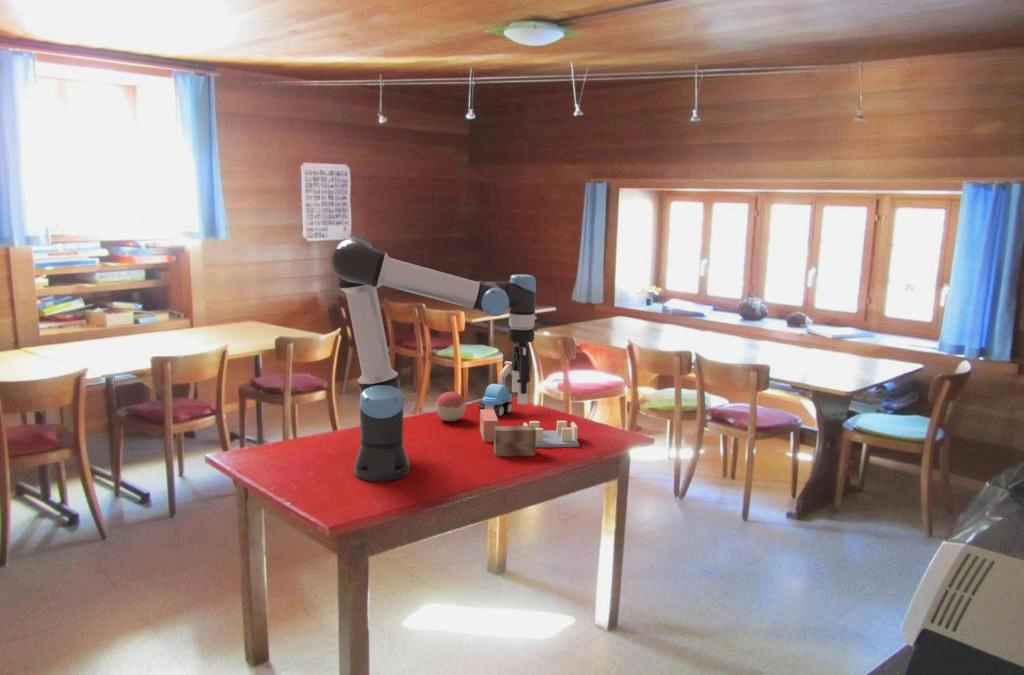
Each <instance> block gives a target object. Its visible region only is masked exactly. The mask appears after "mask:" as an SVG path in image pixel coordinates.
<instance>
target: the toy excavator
mask: <svg viewBox="0 0 1024 675" xmlns="http://www.w3.org/2000/svg"><path fill="white" fill-rule="evenodd" d="M513 371H514V370H513V369H512V361H507V360H506V361H504V367H503V368H502V370H500V372H499V375H498V383H491V384H489V385H488V386H487V387H486V389H485V394H484V396H483V398H482V400H481V402H480V403H479V404H478V412H479V413H480V409H494V411H495V414H496V416H497V417H499V418H500V417H501V416H503V415H504V413H507V414H511V413H512V411H513V408H514V407H513V406H514V404H513V402H512V400H513V394H511V393H509V387H508V386H506V377H507V376H508V375H512V374H513Z"/></svg>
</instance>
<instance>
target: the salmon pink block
mask: <svg viewBox="0 0 1024 675" xmlns="http://www.w3.org/2000/svg"><path fill="white" fill-rule="evenodd" d="M494 426H499V419H498V416H496V414H495V411H494V409H480V412H479V431H480V435H481V439H482V441H483V443H492V442H493V443H494Z"/></svg>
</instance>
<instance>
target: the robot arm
mask: <svg viewBox="0 0 1024 675" xmlns="http://www.w3.org/2000/svg"><path fill="white" fill-rule="evenodd" d="M330 260H331V266H332V270H333V271H334V273H335V274H336V278H337V283H338V287H339V289H340V290H341V291H342V292H344V293H345V295H346V300H347V304H348V305H347V306H348V309H349V310H348V311H349V315H350V320H351V324H352V331H353V335H354V340H355V341H354V342H355V346H356V351H357V356H358V362H359V365H360V366H359V367H360V371H361V375H360V377H359V378H358V379H357V382H358V383H357V384H358V388H359V395H360V396H359V398H360V399H359V410H360V413H359V417H360V420H359V421H360V424H359V425H360V426H359V428H360V447H359V450H358V452H357V453H358V454H357V455H356V458H355V463H354V466H353V467H354V469H353V470H354V471H353V472H354V473H353V474H354V475H355V477H357V478H358V479H361V480H365V481H369V482H370V481H371V482H389V481H396V480H399V479H402V478H405V477H406V476H408V475H409V474H410V461H409V458H408V455H407V453H406V450H405V447H404V405H405V404H404V403H405V400H404V394H403V391H402V389H401V385H400V378H399V374H398V372H397V371H396V370H394V369H393V368H392V364H391V360H390V359H391V358H390V355H389V354H390V352H389V348H388V344H387V337H386V333H385V327H384V322H383V317H382V312H381V308H380V307H381V305H380V301H379V295H378V290H377V288H380V287H381V286H385V287H388V288H392V289H395V290H396V289H397V290H400V291H404V292H407V293H412V294H414V295H415V294H416V295H419V296H423V297H426V298H429V299H434V300H438V301H442V302H446V303H449V304H454V305H457V306H461V307H464V308H469V309H472V310H474V311H479V312H482V313H485V314H487V315H488V316H490V317H500V316H502V315H504V314H505V313H506V312H507V311H508V309H509V312H508V313H509V314H508V326H509V328H508V340H509V341H510V342H513V349H512V361H511V362H512V369H513V370H514V371H513V374H511V376H512V377H511V380H512V381H511V382H512V384H511V393H517V394H518V395H517V404H518V405H528V401H529V400H528V399H529V382H530V380H531V379H530V359H529V353H530V352H529V351H530V349H529V347H528V346H527V344H528V343H532V342H534V341H535V328H534V327H535V321H536V320H537V318H538V317H537V316H536V298H537V297H536V296H537V285H536V284H537V283H536V278H535V276H534V275H531V274H522V273H521V274H517V273H516V274H512V275H510V279H509V281H508V280H507V281H487V280H486V281H484V280H479V281H475V280H472V279H468V278H465V277H461V276H457V275H454V274H451V273H446V272H443V271H438V270H436V269H432V268H428V267H424V266H421V265H417V264H414V263H410V262H406V261H402V260H399V259H395V258H392V257H389V254H388V253H387V252H384V251H381V250H378V249H376V248H375V246H374V245H373V243H372V242H370V241H369V240H368V239H366V238H364V237H362V236H349V237H345V238H343V239H342V240H340V241H339V242H338V243H337V245H336V246H335V247H334V249H333V251H332V253H331V259H330Z"/></svg>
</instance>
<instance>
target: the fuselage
mask: <svg viewBox="0 0 1024 675" xmlns="http://www.w3.org/2000/svg"><path fill="white" fill-rule="evenodd" d="M535 443H536V429H535V427H534V426H529V425H528V426H523V425H498V426H494V442H493V453H495V454H494V456H495V457H517V456H518V457H519V456H520V457H524V456H527V457H530V456H536V448H535Z"/></svg>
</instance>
